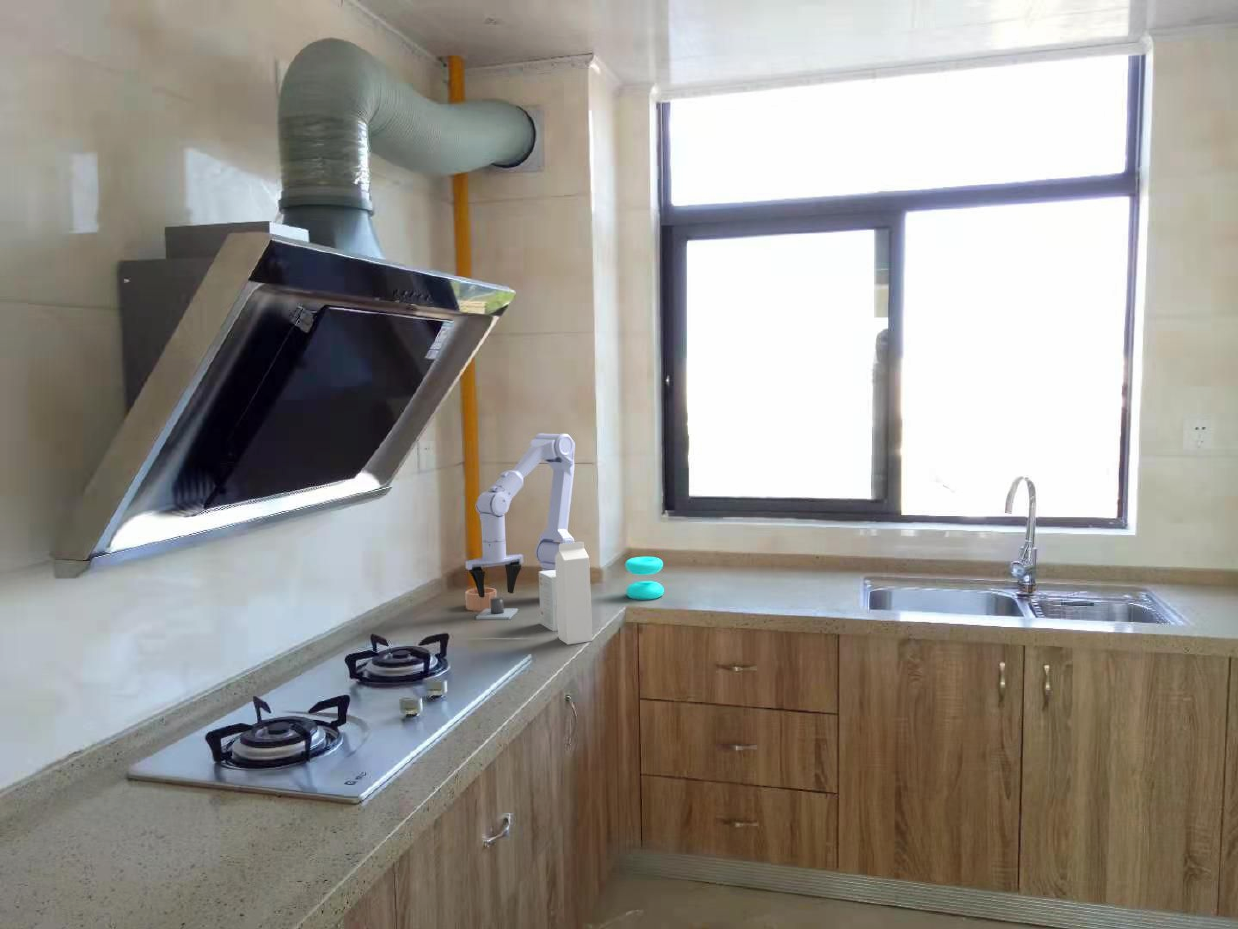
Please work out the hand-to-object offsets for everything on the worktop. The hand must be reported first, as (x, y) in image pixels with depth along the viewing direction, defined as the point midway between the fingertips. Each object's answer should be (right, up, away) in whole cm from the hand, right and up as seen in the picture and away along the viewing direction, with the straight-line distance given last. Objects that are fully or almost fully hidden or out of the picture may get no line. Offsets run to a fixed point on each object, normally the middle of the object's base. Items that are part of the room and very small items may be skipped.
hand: (496, 594), depth 235 cm
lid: (0, -5, +1) cm, 5 cm away
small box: (+16, -6, -11) cm, 21 cm away
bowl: (-5, -5, +10) cm, 12 cm away
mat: (0, -6, +1) cm, 6 cm away
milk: (+21, -7, -23) cm, 32 cm away
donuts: (+37, -3, +17) cm, 41 cm away
